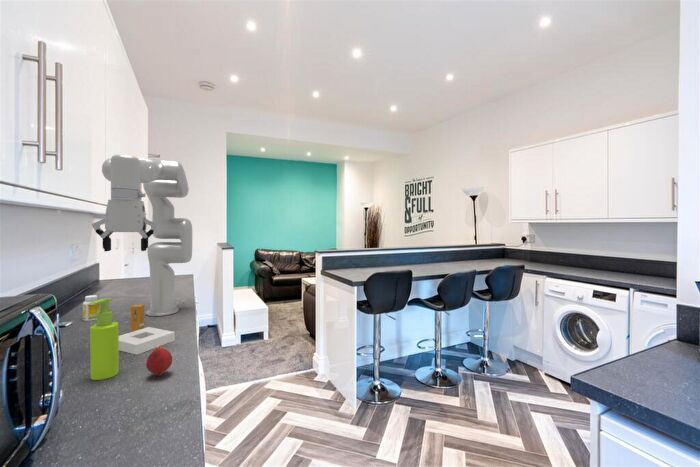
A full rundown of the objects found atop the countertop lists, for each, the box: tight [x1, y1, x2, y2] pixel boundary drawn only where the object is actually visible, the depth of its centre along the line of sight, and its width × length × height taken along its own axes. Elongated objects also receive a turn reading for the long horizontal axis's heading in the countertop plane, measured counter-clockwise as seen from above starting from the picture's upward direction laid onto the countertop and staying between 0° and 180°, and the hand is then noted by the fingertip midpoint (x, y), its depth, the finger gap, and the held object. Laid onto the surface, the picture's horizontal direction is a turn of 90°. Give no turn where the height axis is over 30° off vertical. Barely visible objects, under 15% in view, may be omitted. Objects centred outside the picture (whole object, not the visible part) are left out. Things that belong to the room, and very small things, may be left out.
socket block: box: [119, 326, 176, 355], centre depth 105 cm, size 13×13×3 cm
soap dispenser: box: [87, 297, 120, 381], centre depth 83 cm, size 6×7×20 cm
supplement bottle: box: [82, 294, 100, 322], centre depth 132 cm, size 5×5×10 cm
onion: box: [145, 345, 173, 377], centre depth 84 cm, size 6×6×8 cm
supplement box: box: [130, 304, 145, 332], centre depth 117 cm, size 3×3×10 cm
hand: (126, 250), depth 100 cm, fingers open, 9 cm apart
